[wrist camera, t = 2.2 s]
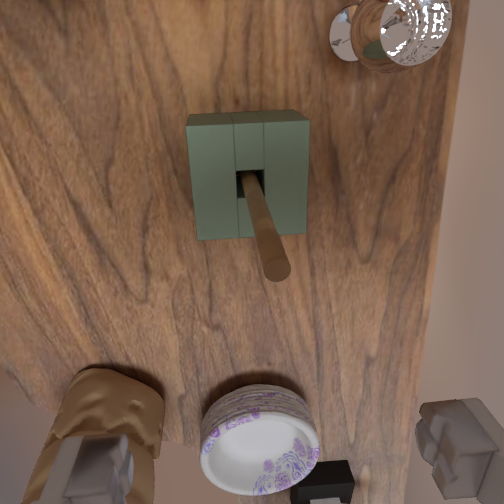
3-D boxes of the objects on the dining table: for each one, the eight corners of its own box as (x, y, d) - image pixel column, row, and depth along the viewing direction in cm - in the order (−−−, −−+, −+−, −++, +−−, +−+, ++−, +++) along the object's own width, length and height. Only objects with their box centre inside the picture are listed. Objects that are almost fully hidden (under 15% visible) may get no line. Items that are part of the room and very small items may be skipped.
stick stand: (293, 109, 37) (310, 120, 31) (292, 207, 42) (306, 233, 36) (189, 114, 37) (185, 126, 30) (199, 213, 41) (197, 241, 35)
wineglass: (335, -14, 33) (394, -47, 23) (394, 8, 34) (477, -13, 24) (313, 59, 36) (356, 60, 25) (369, 76, 37) (434, 86, 26)
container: (85, 434, 54) (33, 592, 38) (55, 367, 49) (-21, 519, 33) (175, 420, 55) (160, 570, 39) (155, 352, 49) (129, 495, 33)
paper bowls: (228, 354, 50) (231, 403, 43) (326, 385, 55) (343, 434, 47) (184, 430, 56) (180, 485, 49) (276, 453, 60) (285, 506, 53)
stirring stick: (250, 156, 39) (291, 257, 20) (251, 170, 40) (291, 281, 20) (237, 157, 39) (263, 259, 19) (237, 171, 40) (264, 283, 20)
